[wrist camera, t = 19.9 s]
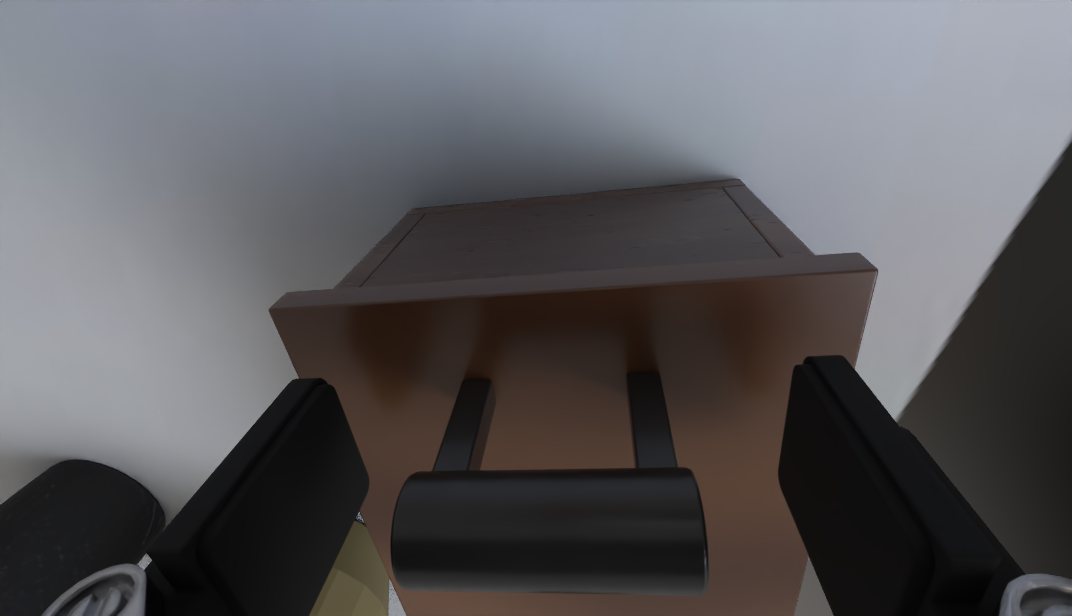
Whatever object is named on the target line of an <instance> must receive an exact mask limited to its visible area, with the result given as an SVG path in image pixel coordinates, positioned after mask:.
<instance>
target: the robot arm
mask: <svg viewBox="0 0 1072 616" xmlns="http://www.w3.org/2000/svg"><path fill="white" fill-rule="evenodd" d="M778 479H779V484H780V488H781V491H782V493H783V496H784V498H785V500H786V503H787V505H788V508H789V510H790V512H791V515H792V517H793V519H794V522H795V524H796V527H797V529H798V531H799V534H800V536H801V539H802V541H803V543H804V546H805V548H806V550H807V553H808V555H809V558H810V560H811V562H812V565H813V567H814V570H815V572H816V574H817V577H818V579H819V582H820V584H821V586H822V589H823V591H824V593H825V596H826V598H827V601H828V603H829V605H830V608H831V610H832V612H833V615H834V616H1072V580H1070V579H1067V578H1064V577H1058V576H1052V575H1046V574H1031V575H1026V574H1025V573H1024V572H1023V571H1022V569H1021V568H1020V567H1019V566H1018V564H1017V563H1016V562H1015V561H1014V559H1013V558H1012V557H1011V556H1010V554H1009V553H1008V552H1007V550H1006V549H1005V548H1004V547H1003V546H1002V544H1001V543H1000V542H999V541H998V539H997V538H996V537H995V536H994V534H993V533H992V532H991V531H990V529H989V528H988V527H987V526H986V524H985V523H984V522H983V521H982V519H981V518H980V517H979V516H978V514H977V513H976V512H975V511H974V509H973V508H972V507H971V506H970V504H969V503H968V502H967V501H966V499H965V498H964V497H963V496H962V494H961V493H960V492H959V491H958V490H957V488H956V487H955V486H954V485H953V483H952V482H951V481H950V480H949V478H948V477H947V476H946V475H945V473H944V472H943V471H942V470H941V468H940V467H939V466H938V465H937V463H936V462H935V461H934V460H933V458H932V457H931V456H930V455H929V453H928V452H927V451H926V450H925V448H924V447H923V446H922V445H921V443H920V442H919V441H918V440H917V438H916V437H915V436H914V435H913V434H912V433H911V432H910V431H909V430H907V429H905V428H903V427H899V426H898V424H897V423H896V422H895V420H894V419H893V418H892V417H891V415H890V414H889V413H888V411H887V410H886V409H885V408H884V406H883V405H882V404H881V403H880V401H879V400H878V399H877V397H876V396H875V395H874V394H873V392H872V391H871V390H870V389H869V387H868V386H867V385H866V383H865V382H864V381H863V380H862V378H861V377H860V376H859V374H858V373H857V372H856V371H855V369H854V368H853V367H852V366H851V364H850V363H849V362H848V360H847V359H846V358H845V357H844V356H842V355H825V356H808V357H806V358H805V359H804V361H803V364H800V365H795V367H794V368H793V373H792V380H791V386H790V393H789V399H788V406H787V413H786V419H785V426H784V433H783V439H782V446H781V453H780V459H779V466H778ZM368 490H369V475H368V472H367V470H366V467H365V465H364V462H363V459H362V457H361V454H360V452H359V449H358V446H357V444H356V441H355V439H354V436H353V433H352V431H351V428H350V426H349V423H348V420H347V418H346V415H345V413H344V410H343V407H342V405H341V402H340V400H339V397H338V395H337V392H336V390H335V388H334V386H332V385H330V384H328V383H327V381H326V380H324V379H323V378H305V379H294V380H292V381H291V382H290V383H289V384H288V385H287V386H286V387H285V388H284V390H283V391H282V392H281V393H280V394H279V395H278V397H277V398H276V399H275V400H274V401H273V403H272V404H271V405H270V406H269V407H268V408H267V410H266V411H265V412H264V413H263V414H262V415H261V417H260V418H259V419H258V420H257V421H256V423H255V424H254V425H253V426H252V427H251V428H250V430H249V431H248V432H247V433H246V434H245V435H244V437H243V438H242V439H241V440H240V441H239V443H238V444H237V445H236V446H235V447H234V448H233V450H232V451H231V452H230V453H229V454H228V455H227V457H226V458H225V459H224V460H223V461H222V463H221V464H220V465H219V466H218V467H217V468H216V470H215V471H214V472H213V473H212V474H211V475H210V477H209V478H208V479H207V480H206V481H205V483H204V484H203V485H202V486H201V487H200V488H199V490H198V491H197V492H196V493H195V494H194V495H193V497H192V498H191V499H190V500H189V501H188V503H187V504H186V505H185V506H184V507H183V508H182V510H181V511H180V512H179V513H178V514H177V515H176V517H175V518H174V519H173V520H172V521H171V523H170V524H169V525H168V526H167V527H166V528H165V530H164V531H163V532H162V533H161V534H160V536H159V537H158V538H157V539H156V540H155V541H154V543H153V544H152V545H151V546H150V547H149V548H148V550H147V551H146V553H147V554H148V555H149V557H150V558H151V559H152V561H151V563H150V564H149V565H148V566H147V567H146V569H145V570H143V569H142V568H140V567H139V566H138V565H133V564H121V565H115V566H111V567H109V568H106V569H103V570H101V571H98V572H96V573H94V574H92V575H90V576H89V577H87V578H85V579H83V580H81V581H80V582H78V583H77V584H75V585H74V586H73V587H71V588H70V589H69V590H67V591H66V592H65V593H63V594H62V595H61V596H60V597H59V598H58V599H57V600H56V601H55V602H54V603H52V604H51V605H50V606H49V607H48V608H47V609H46V611H45V612H44V613H43V614H42V616H309V615H310V613H311V611H312V609H313V607H314V604H315V602H316V600H317V598H318V596H319V594H320V592H321V590H322V588H323V586H324V584H325V581H326V579H327V577H328V575H329V573H330V571H331V569H332V567H333V565H334V563H335V560H336V558H337V556H338V554H339V552H340V550H341V548H342V546H343V544H344V542H345V540H346V537H347V535H348V533H349V531H350V529H351V527H352V525H353V523H354V521H355V519H356V517H357V514H358V512H359V510H360V508H361V506H362V504H363V502H364V500H365V498H366V496H367V493H368Z"/></svg>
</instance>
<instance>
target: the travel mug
mask: <svg viewBox="0 0 1072 616" xmlns="http://www.w3.org/2000/svg"><path fill="white" fill-rule="evenodd" d="M164 524H165V518H164V514H163V511H162V509H161V507H160V506H159V504H158V502H157V501H156V500H155V499H154V497H153V496H152V495H151V494H150V493H149V492H148V491H147V490H146V489H145V488H143V487H142V486H141V485H140V484H138V483H137V482H136V481H134V480H133V479H131V478H129V477H128V476H126V475H124V474H122V473H121V472H118V471H116V470H114V469H112V468H109V467H106V466H104V465H100V464H97V463H93V462H88V461H65V462H61V463H58V464H56V465H54V466H52V467H50V468H49V469H48V470H46V471H45V472H43V473H42V474H41V475H39V476H38V477H37V478H35V479H34V480H33V481H31V482H30V483H29V484H27V485H26V486H25V487H23V488H22V489H21V490H19V491H18V492H17V493H15V494H14V495H13V496H11V497H10V498H9V499H7V500H6V501H5V502H3V503H2V504H1V505H0V616H42V614H43V613H44V612H45V611H46V609H47V608H48V607H49V606H50V605H51V604H52V603H54V602H55V601H56V600H57V599H58V598H59V597H60V596H61V595H62V594H63V593H65V592H66V591H67V590H69V589H70V588H71V587H73V586H74V585H75V584H77V583H78V582H80V581H81V580H83V579H85V578H87V577H89V576H90V575H92V574H94V573H96V572H98V571H101V570H103V569H106V568H109V567H111V566H115V565H121V564H133V565H137V564H138V563H139V561H140V560H141V559H142V558H143V556H144V555H145V554H146V551H147V550H148V548H149V547H150V546H151V545H152V544H153V543H154V541H155V540H156V539H157V538H158V537H159V536H160V534H161V533H162V531H163V528H164Z"/></svg>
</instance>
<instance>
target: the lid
mask: <svg viewBox="0 0 1072 616" xmlns="http://www.w3.org/2000/svg"><path fill="white" fill-rule="evenodd" d="M877 275H878V269H877V268H876V267H875V266H874V265H872V264H871V263H870V262H869V261H868V260H867V259H866V258H865V257H864V256H862V255H861V254H860V253H857V252H856V253H842V254H828V255H813V256H799V257H785V258H770V259H756V260H742V261H727V262H713V263H699V264H684V265H670V266H656V267H641V268H627V269H613V270H598V271H584V272H569V273H555V274H541V275H526V276H512V277H498V278H483V279H469V280H455V281H440V282H426V283H412V284H397V285H383V286H369V287H354V288H340V289H326V290H311V291H297V292H287V293H285V294H284V295H283V296H282V297H281V298H280V299H279V300H278V301H277V302H276V303H275V304H274V305H273V306H271V307H270V308H269V313H270V315H271V317H272V319H273V322H274V324H275V326H276V328H277V330H278V333H279V335H280V337H281V339H282V341H283V344H284V346H285V348H286V350H287V352H288V355H289V357H290V359H291V361H292V364H293V366H294V368H295V370H296V372H297V375H298V377H299V379H305V378H323V379H324V380H326V381H327V383H328V384H330V385H332V386H334V388H335V390H336V392H337V395H338V397H339V400H340V402H341V405H342V407H343V410H344V413H345V415H346V418H347V420H348V423H349V426H350V428H351V431H352V433H353V436H354V439H355V441H356V444H357V446H358V449H359V452H360V454H361V457H362V459H363V462H364V465H365V467H366V470H367V472H368V475H369V490H368V493H367V496H366V498H365V500H364V502H363V504H362V506H361V508H360V510H359V512H360V514H361V516H362V518H363V520H364V523H365V525H366V527H367V529H368V531H369V534H370V536H371V538H372V540H373V542H374V545H375V547H376V549H377V551H378V554H379V556H380V558H381V560H382V562H383V565H384V567H385V569H386V571H387V573H388V576H389V578H390V580H391V582H392V584H393V587H394V589H395V591H396V593H397V596H398V598H399V600H400V602H401V604H402V607H403V609H404V611H405V613H406V615H407V616H794V614H795V610H796V606H797V602H798V598H799V594H800V589H801V585H802V582H803V577H804V573H805V569H806V565H807V561H808V557H809V555H808V553H807V550H806V548H805V546H804V543H803V541H802V539H801V536H800V534H799V531H798V529H797V527H796V524H795V522H794V519H793V517H792V515H791V512H790V510H789V508H788V505H787V503H786V500H785V498H784V496H783V493H782V491H781V488H780V484H779V479H778V466H779V459H780V453H781V446H782V439H783V433H784V426H785V419H786V413H787V406H788V399H789V393H790V386H791V380H792V373H793V368H794V367H795V365H800V364H803V361H804V359H805V358H806V357H808V356H825V355H842V356H844V357H845V358H846V359H847V360H848V362H849V363H850V364H851V366H852V367H853V368H854V369H855V365H856V361H857V357H858V352H859V348H860V344H861V340H862V336H863V332H864V328H865V324H866V320H867V316H868V312H869V307H870V303H871V299H872V295H873V291H874V287H875V283H876V279H877Z"/></svg>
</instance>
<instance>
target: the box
mask: <svg viewBox="0 0 1072 616" xmlns="http://www.w3.org/2000/svg"><path fill="white" fill-rule="evenodd" d="M813 255H815V254H814V253H813V252H812V251H811V250H810V249H809V248H808V247H807V246H806V245H805V244H804V243H803V242H802V241H801V240H800V239H799V238H798V237H797V236H796V235H795V234H794V233H793V232H792V231H791V230H790V229H789V228H788V227H787V226H786V225H785V224H784V223H783V222H782V221H781V220H780V219H779V218H778V217H777V216H776V215H775V214H774V213H773V212H772V211H771V210H770V209H769V208H768V207H767V206H766V205H764V204H763V203H762V202H761V201H760V200H759V199H758V198H757V197H756V196H755V195H754V194H753V193H752V192H751V191H750V190H749V189H748V188H747V187H746V185H745V184H744V183H743V182H742V181H741V180H740V179H734V180H723V181H712V182H701V183H690V184H679V185H668V186H658V187H647V188H636V189H625V190H614V191H603V192H592V193H581V194H570V195H559V196H548V197H537V198H526V199H515V200H504V201H493V202H482V203H471V204H460V205H449V206H438V207H427V208H416V209H412V210H411V211H410V212H409V213H408V214H407V215H406V216H405V217H404V218H403V219H402V220H401V221H400V222H399V223H398V224H397V225H396V226H395V227H394V228H393V229H392V230H391V231H390V232H389V233H388V234H387V235H386V236H385V237H384V238H383V239H382V240H381V241H380V242H379V243H378V244H377V245H376V246H375V247H374V248H373V249H372V250H371V251H370V252H369V253H368V254H367V255H366V256H365V257H364V258H363V259H362V260H361V261H360V262H359V263H358V264H357V265H356V266H355V267H354V268H353V269H352V270H351V271H350V272H349V273H348V274H347V275H346V276H345V277H344V278H343V279H342V280H341V281H340V282H339V283H338V284H337V285H336V286H335V287H334V288H333V289H340V288H354V287H369V286H383V285H397V284H412V283H426V282H440V281H455V280H469V279H483V278H498V277H512V276H526V275H541V274H555V273H569V272H584V271H598V270H613V269H627V268H641V267H656V266H670V265H684V264H699V263H713V262H727V261H742V260H756V259H770V258H785V257H799V256H813Z"/></svg>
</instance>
